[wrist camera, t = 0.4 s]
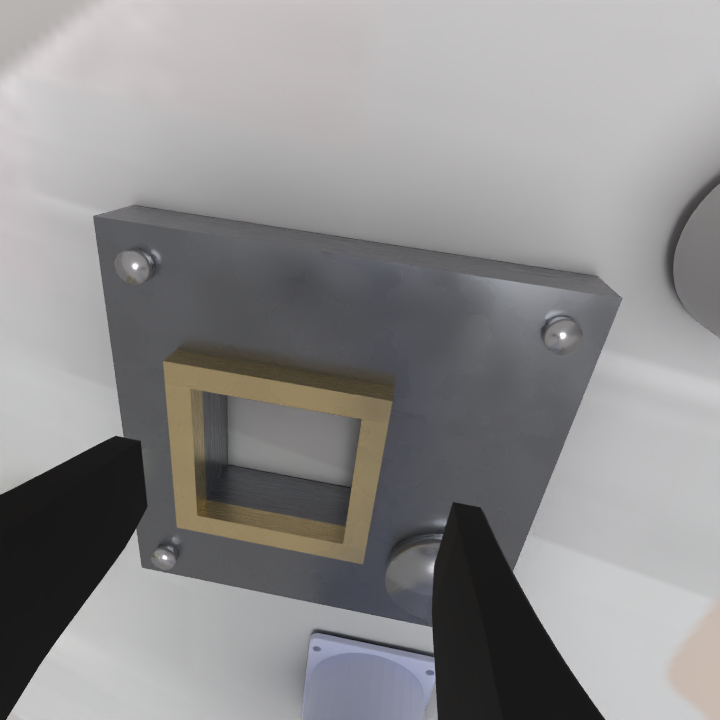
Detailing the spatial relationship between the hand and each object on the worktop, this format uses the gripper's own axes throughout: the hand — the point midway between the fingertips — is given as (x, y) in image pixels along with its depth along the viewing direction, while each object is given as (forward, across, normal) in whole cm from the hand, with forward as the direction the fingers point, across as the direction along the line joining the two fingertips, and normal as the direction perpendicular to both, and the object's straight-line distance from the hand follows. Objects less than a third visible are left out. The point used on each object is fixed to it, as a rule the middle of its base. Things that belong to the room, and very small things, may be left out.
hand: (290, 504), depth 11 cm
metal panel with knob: (+10, 0, +5) cm, 11 cm away
